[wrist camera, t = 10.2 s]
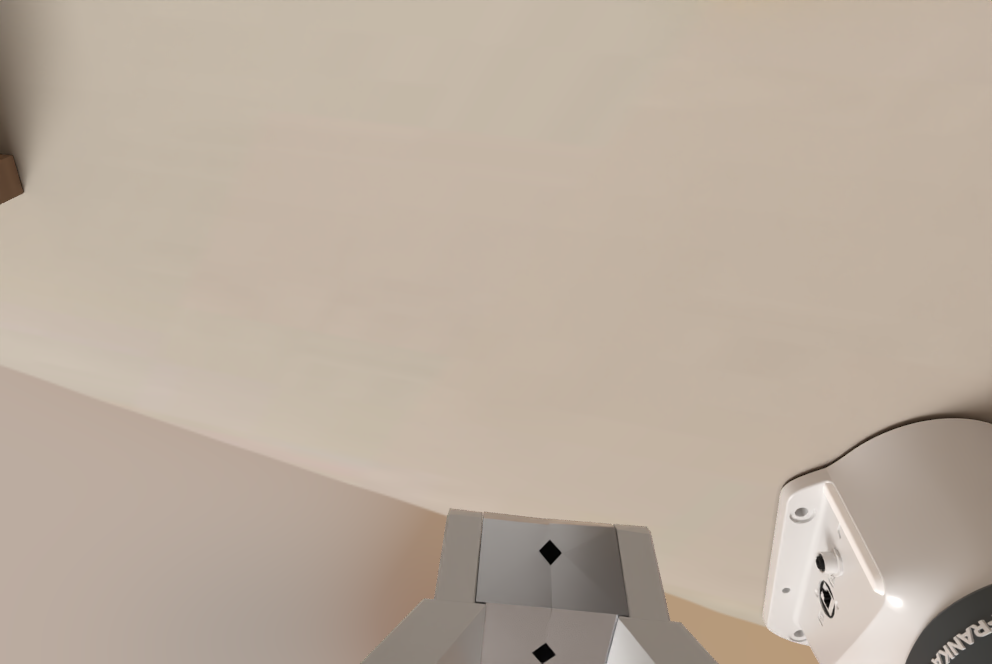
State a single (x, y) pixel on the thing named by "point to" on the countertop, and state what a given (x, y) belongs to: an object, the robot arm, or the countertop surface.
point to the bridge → (9, 179)
